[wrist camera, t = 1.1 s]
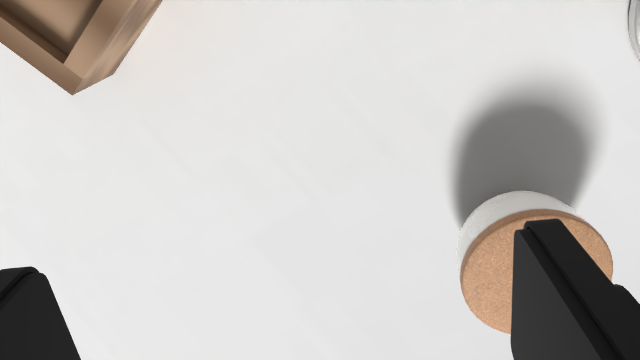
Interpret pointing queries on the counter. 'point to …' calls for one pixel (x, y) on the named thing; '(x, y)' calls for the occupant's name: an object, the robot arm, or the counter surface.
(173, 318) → the counter surface
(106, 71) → the open walnut box
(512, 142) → the counter surface
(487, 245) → the lidded jar
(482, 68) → the counter surface
